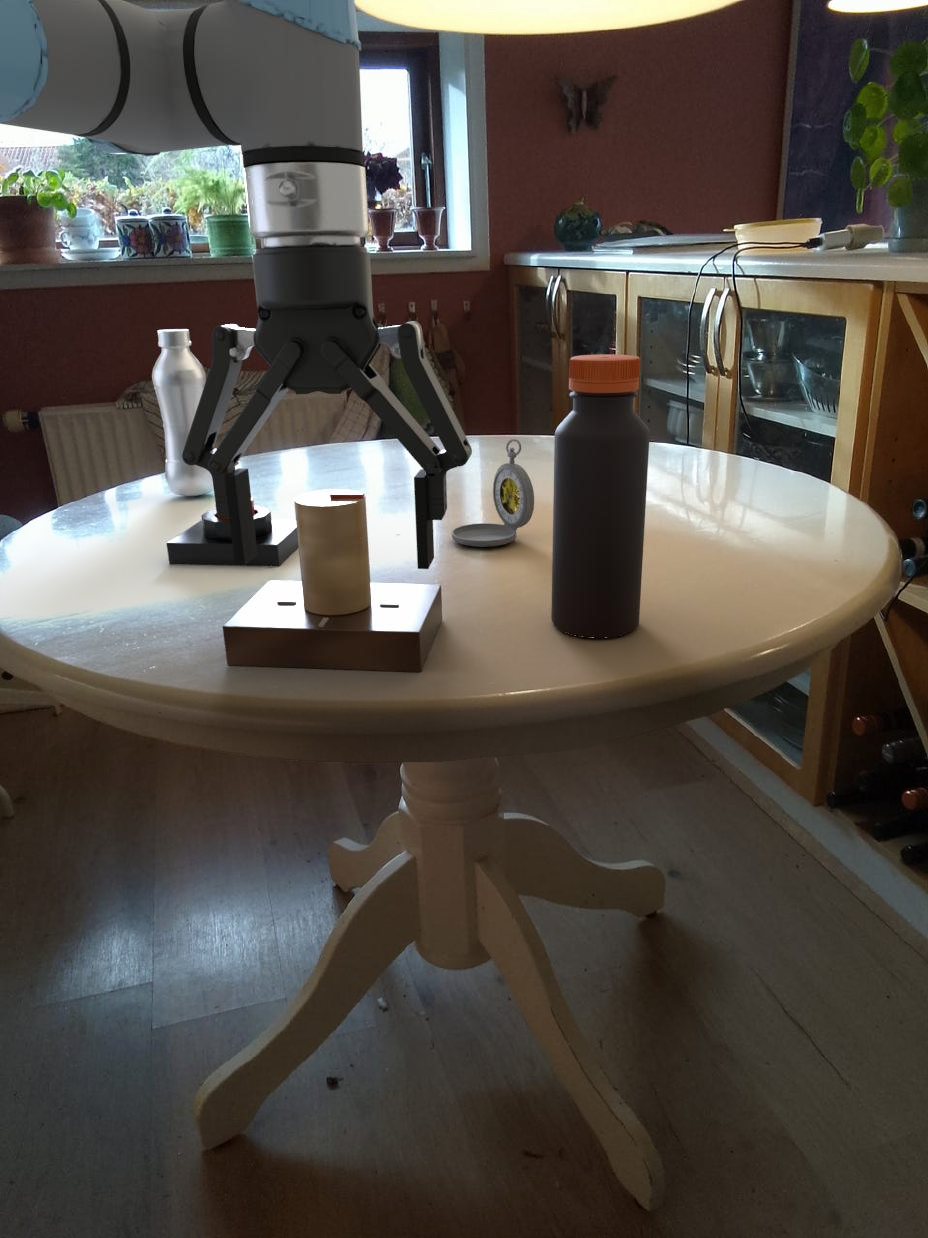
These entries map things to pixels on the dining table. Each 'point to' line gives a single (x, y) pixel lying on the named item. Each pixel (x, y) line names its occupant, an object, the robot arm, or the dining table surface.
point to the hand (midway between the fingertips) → (335, 562)
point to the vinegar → (599, 500)
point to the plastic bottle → (179, 409)
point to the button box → (214, 541)
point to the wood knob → (333, 551)
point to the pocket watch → (503, 507)
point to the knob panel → (336, 630)
